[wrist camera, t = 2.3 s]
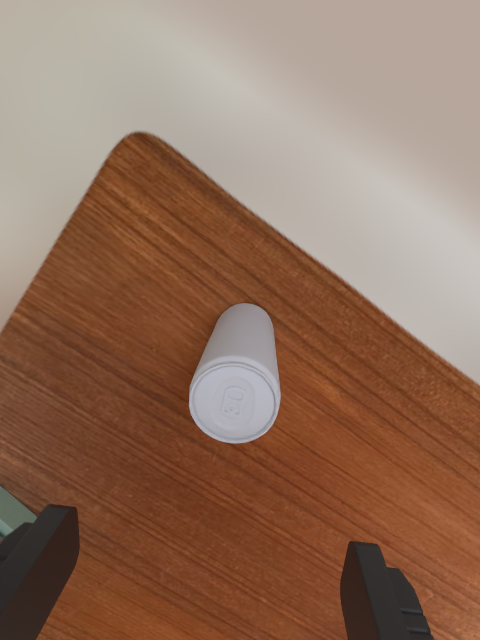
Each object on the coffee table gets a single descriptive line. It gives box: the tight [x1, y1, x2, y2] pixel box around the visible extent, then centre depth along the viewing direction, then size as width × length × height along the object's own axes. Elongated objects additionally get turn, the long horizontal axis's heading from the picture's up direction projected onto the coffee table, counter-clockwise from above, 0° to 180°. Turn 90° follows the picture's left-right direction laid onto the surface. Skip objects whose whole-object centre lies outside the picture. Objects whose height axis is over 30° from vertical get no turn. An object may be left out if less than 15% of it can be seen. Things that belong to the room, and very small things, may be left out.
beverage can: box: [189, 303, 281, 443], centre depth 24 cm, size 5×5×12 cm
